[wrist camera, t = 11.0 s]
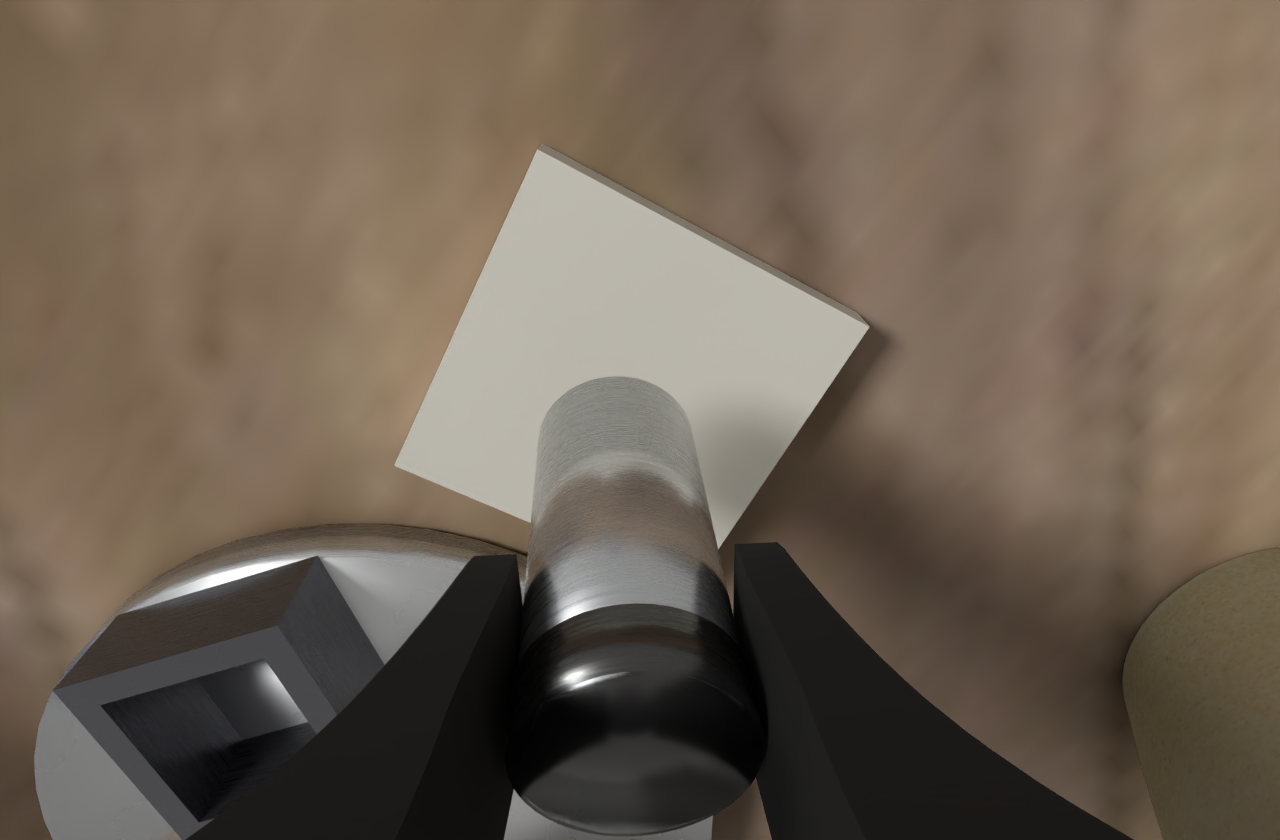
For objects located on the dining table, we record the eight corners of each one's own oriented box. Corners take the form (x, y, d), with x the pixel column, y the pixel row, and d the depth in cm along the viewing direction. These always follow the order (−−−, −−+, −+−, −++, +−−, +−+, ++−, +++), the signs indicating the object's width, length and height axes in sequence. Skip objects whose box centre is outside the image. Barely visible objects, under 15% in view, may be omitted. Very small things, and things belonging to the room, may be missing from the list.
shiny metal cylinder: (539, 509, 16) (512, 840, 10) (532, 374, 15) (496, 672, 9) (690, 507, 16) (751, 831, 10) (700, 373, 15) (779, 664, 9)
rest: (404, 446, 20) (394, 465, 19) (541, 142, 17) (537, 149, 16) (687, 566, 21) (690, 590, 21) (857, 312, 18) (869, 326, 18)
